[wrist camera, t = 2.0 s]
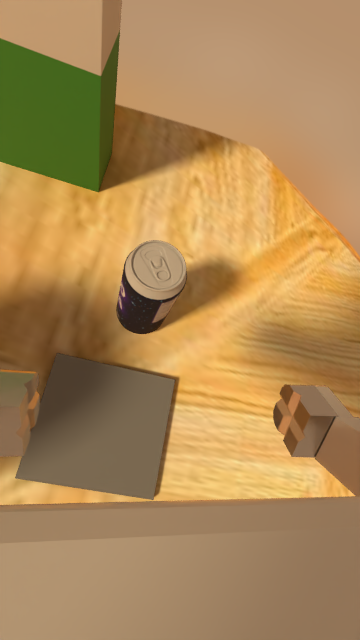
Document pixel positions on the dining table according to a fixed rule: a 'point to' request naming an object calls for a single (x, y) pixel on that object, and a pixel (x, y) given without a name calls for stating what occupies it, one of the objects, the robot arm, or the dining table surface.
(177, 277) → the beverage can
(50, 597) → the robot arm
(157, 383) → the mat
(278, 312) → the dining table surface
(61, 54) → the hardback book
